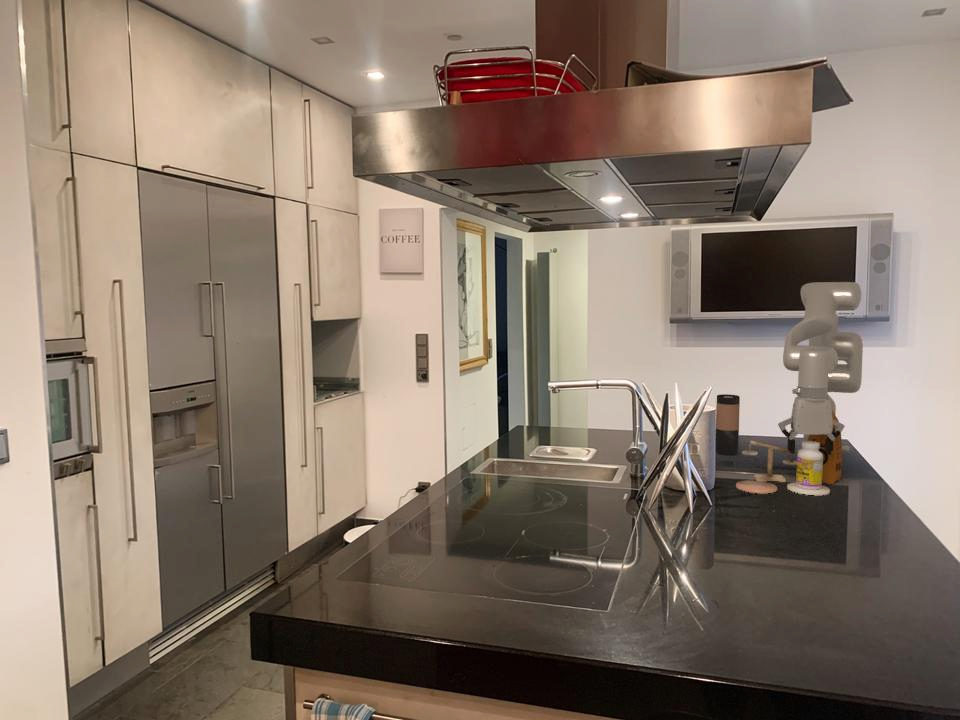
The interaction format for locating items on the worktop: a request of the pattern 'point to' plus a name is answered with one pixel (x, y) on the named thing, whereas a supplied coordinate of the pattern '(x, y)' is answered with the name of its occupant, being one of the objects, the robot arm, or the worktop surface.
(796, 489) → the plate offwhite
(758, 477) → the balance
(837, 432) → the robot arm
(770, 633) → the worktop surface
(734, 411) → the travel mug
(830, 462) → the coffee package
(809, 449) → the supplement bottle
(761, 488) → the plate terracotta
